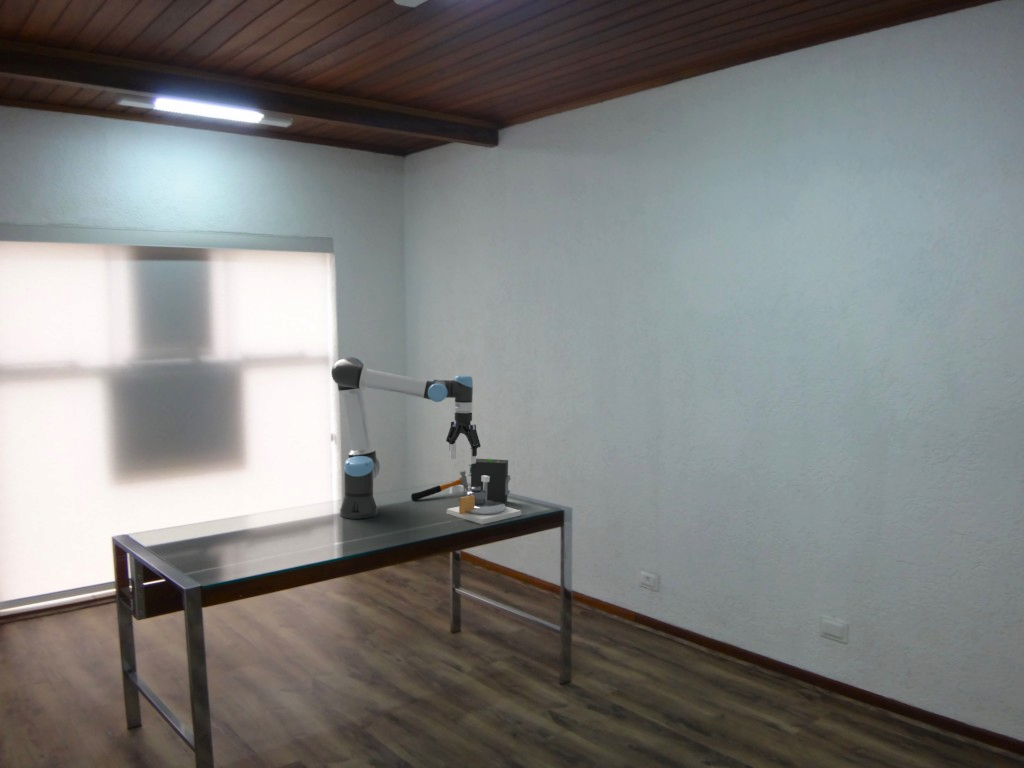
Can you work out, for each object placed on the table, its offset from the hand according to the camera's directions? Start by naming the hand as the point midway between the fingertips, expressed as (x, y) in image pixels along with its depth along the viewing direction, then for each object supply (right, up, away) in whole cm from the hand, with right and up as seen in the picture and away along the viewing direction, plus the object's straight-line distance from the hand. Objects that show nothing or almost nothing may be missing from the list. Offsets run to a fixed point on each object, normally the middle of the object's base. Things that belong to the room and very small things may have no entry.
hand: (462, 461), depth 347 cm
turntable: (+8, -19, -9) cm, 23 cm away
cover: (+6, -17, -5) cm, 19 cm away
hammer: (-12, -19, +23) cm, 32 cm away
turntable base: (+9, -22, -8) cm, 25 cm away
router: (+11, -20, +13) cm, 26 cm away
